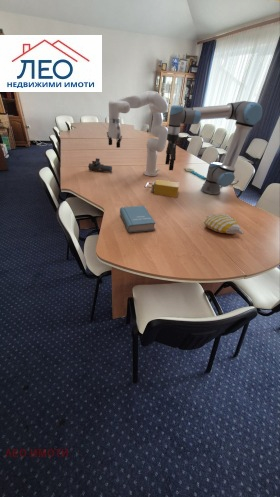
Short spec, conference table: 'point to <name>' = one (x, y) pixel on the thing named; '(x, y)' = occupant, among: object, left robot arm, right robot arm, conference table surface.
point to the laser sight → (99, 166)
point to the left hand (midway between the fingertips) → (114, 146)
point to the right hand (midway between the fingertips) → (168, 167)
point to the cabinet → (166, 188)
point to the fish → (223, 224)
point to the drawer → (150, 187)
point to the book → (137, 219)
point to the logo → (194, 172)
